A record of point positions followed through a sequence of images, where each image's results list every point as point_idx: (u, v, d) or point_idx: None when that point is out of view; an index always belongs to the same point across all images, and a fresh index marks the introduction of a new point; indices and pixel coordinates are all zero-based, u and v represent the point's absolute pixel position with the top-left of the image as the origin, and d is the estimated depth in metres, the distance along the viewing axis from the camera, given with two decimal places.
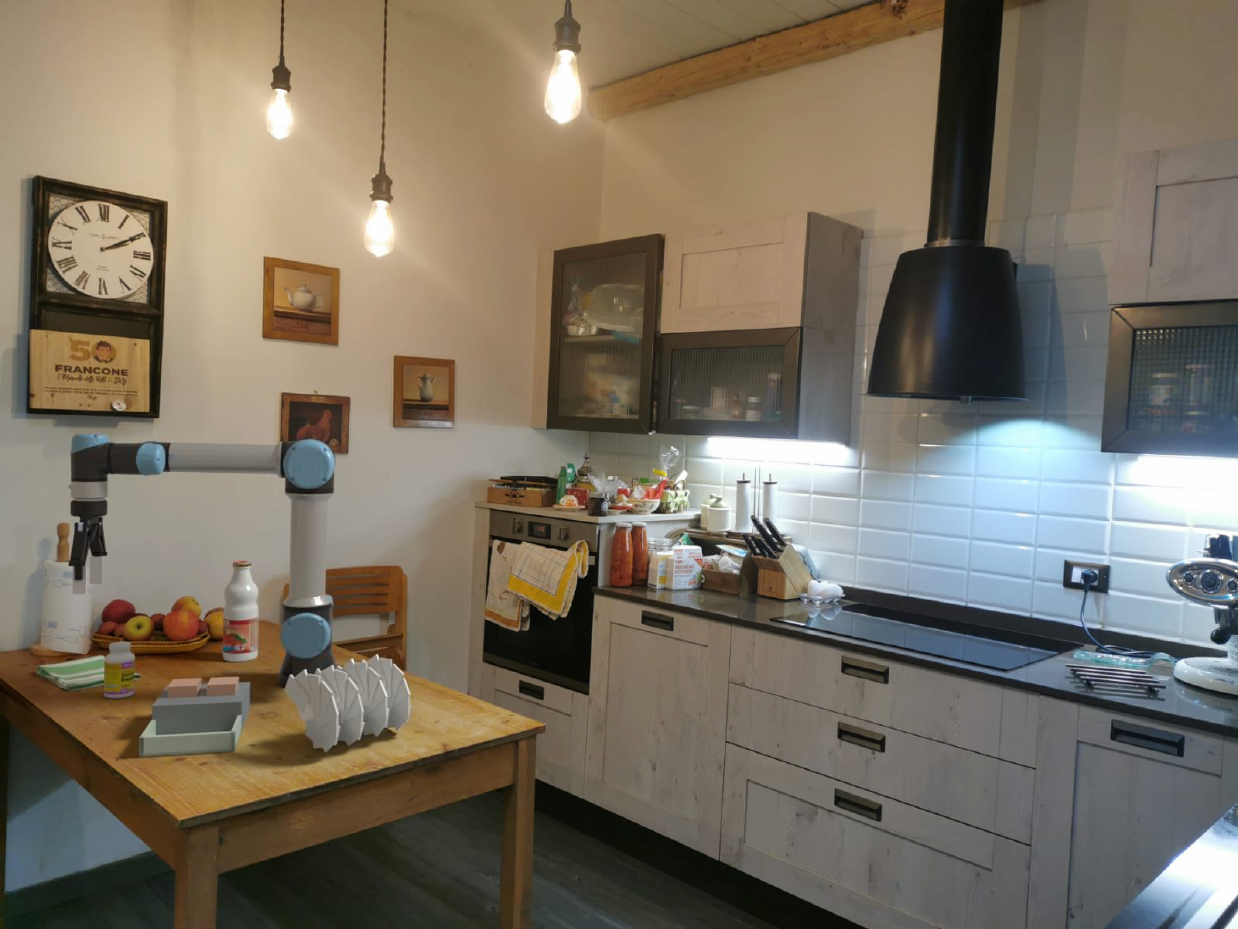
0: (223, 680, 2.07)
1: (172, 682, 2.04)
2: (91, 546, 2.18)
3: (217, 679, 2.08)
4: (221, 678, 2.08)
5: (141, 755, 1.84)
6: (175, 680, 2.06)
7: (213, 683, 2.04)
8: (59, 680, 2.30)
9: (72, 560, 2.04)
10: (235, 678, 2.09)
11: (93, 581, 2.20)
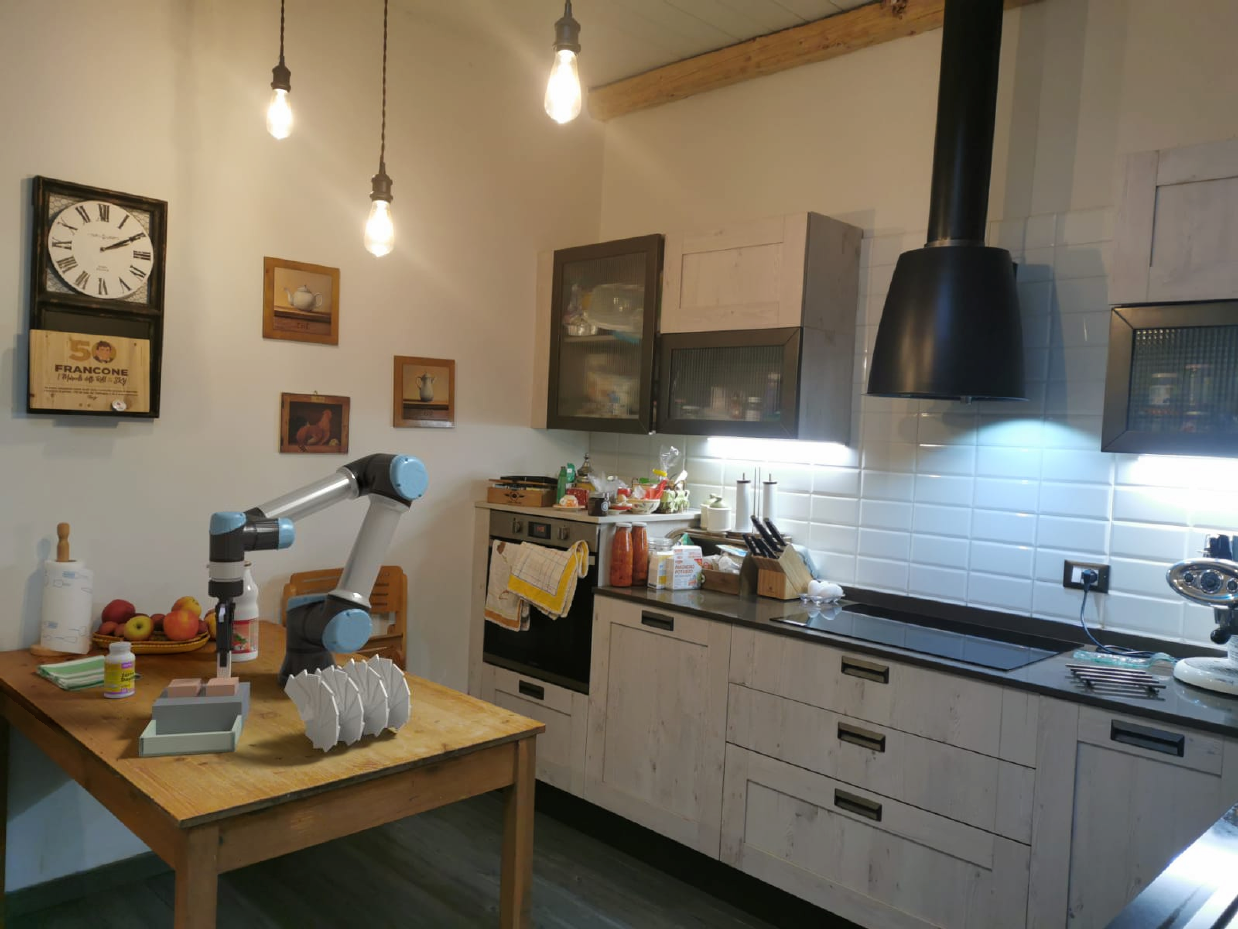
0: (223, 680, 2.07)
1: (172, 682, 2.04)
2: None
3: (216, 679, 2.07)
4: (221, 678, 2.08)
5: (141, 755, 1.84)
6: (175, 680, 2.06)
7: (213, 683, 2.04)
8: (59, 680, 2.30)
9: (218, 650, 2.06)
10: (235, 678, 2.08)
11: (221, 677, 2.09)
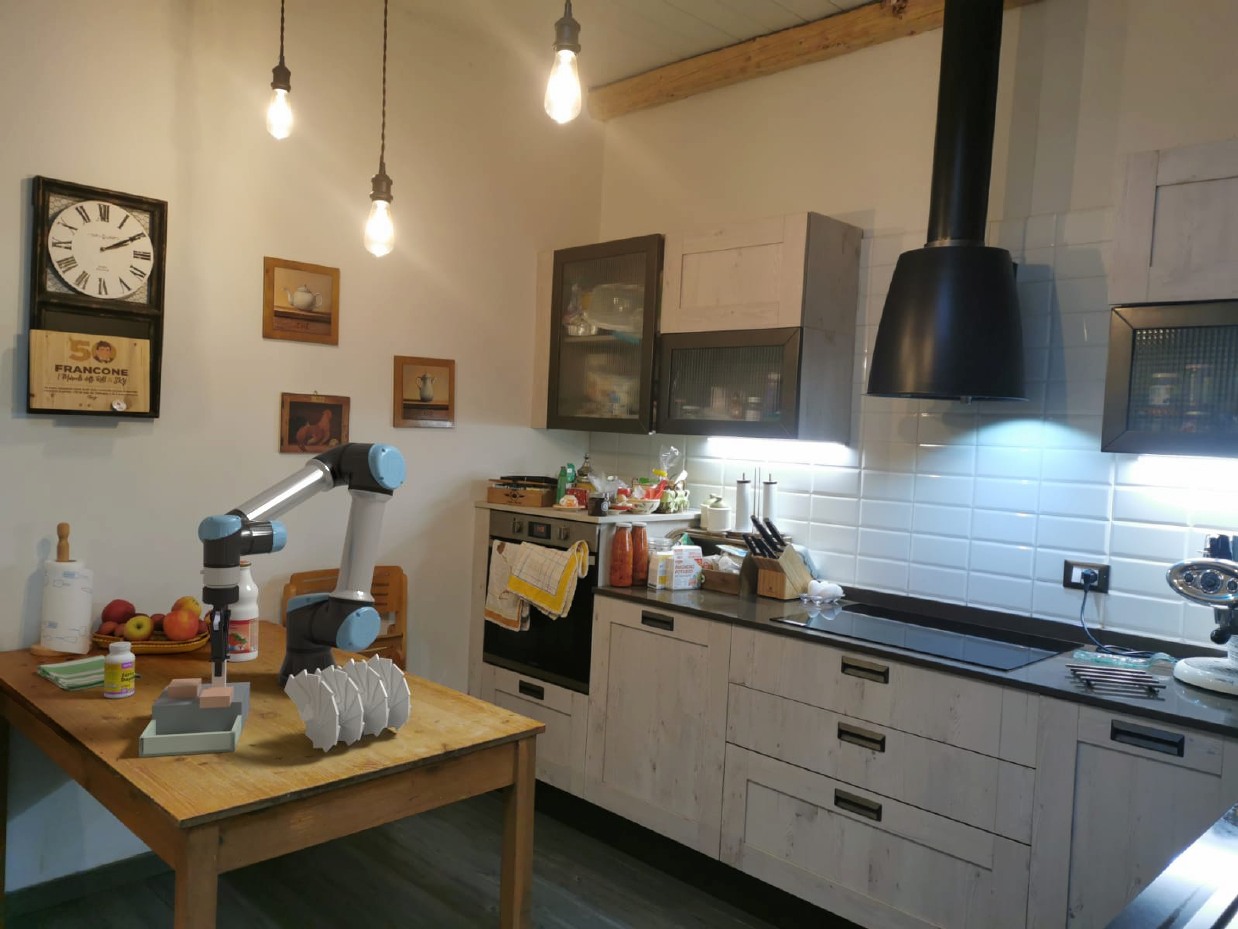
0: (217, 690, 1.99)
1: (172, 682, 2.04)
2: None
3: (210, 689, 1.99)
4: (215, 688, 2.00)
5: (141, 755, 1.84)
6: (175, 680, 2.06)
7: (207, 694, 1.96)
8: (59, 680, 2.30)
9: (213, 659, 1.98)
10: (230, 688, 2.01)
11: None
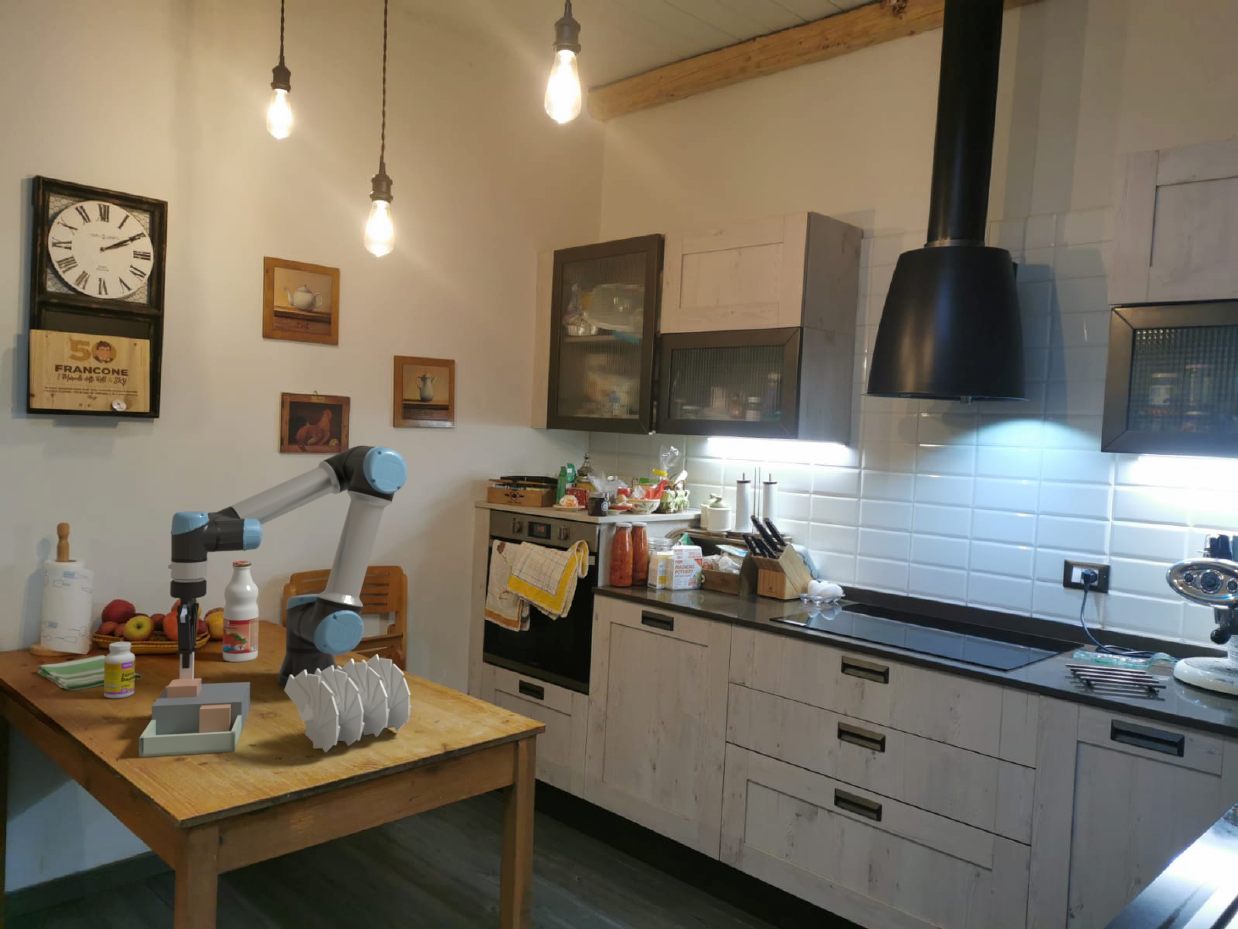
0: (214, 718, 1.96)
1: (172, 682, 2.04)
2: None
3: (207, 715, 1.96)
4: (211, 713, 1.96)
5: (141, 755, 1.84)
6: (175, 680, 2.05)
7: (205, 730, 1.96)
8: (59, 680, 2.31)
9: (180, 651, 2.04)
10: (226, 714, 1.97)
11: (184, 678, 2.08)
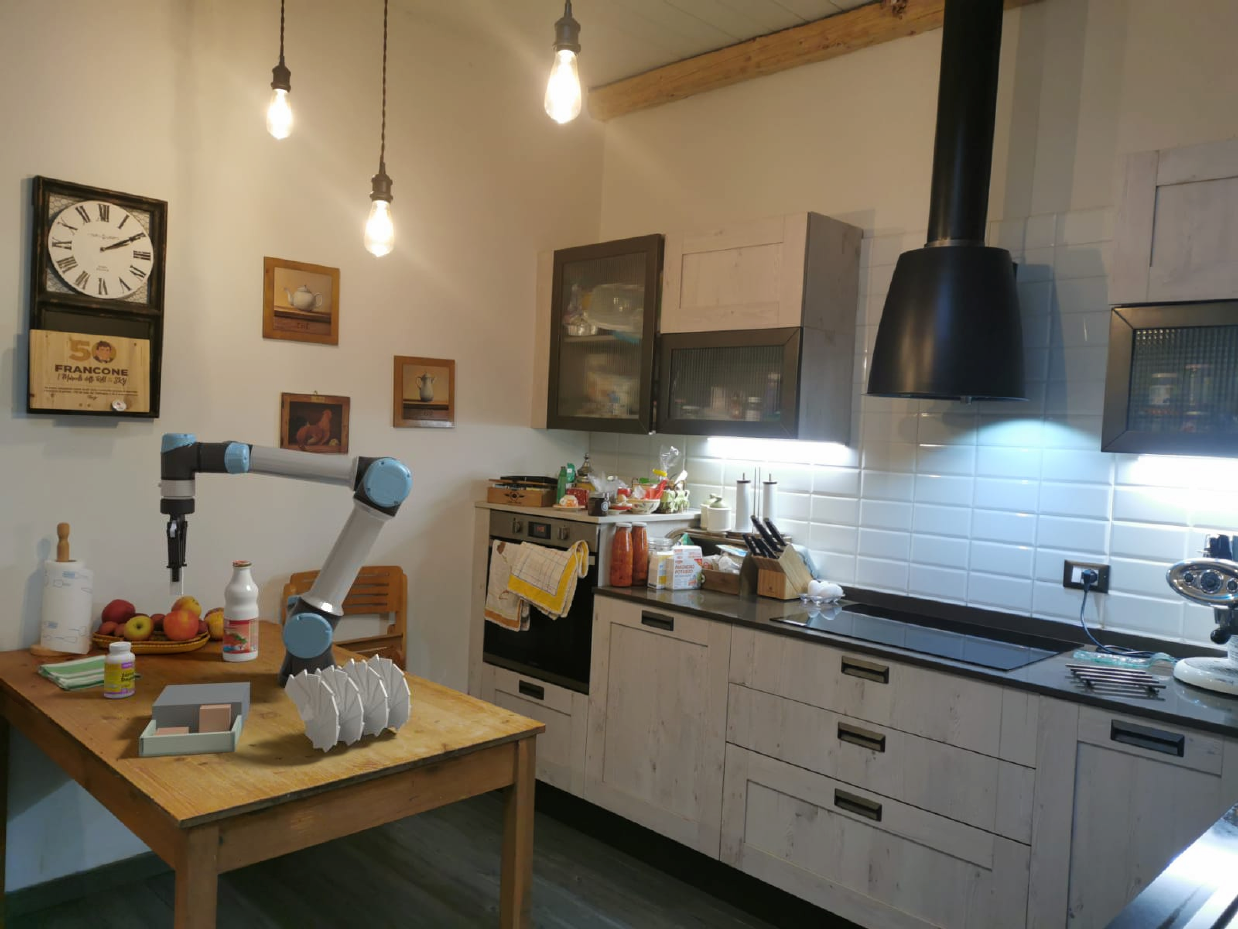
0: (214, 718, 1.96)
1: None
2: None
3: (207, 715, 1.96)
4: (211, 713, 1.96)
5: (141, 755, 1.84)
6: None
7: (205, 730, 1.96)
8: (59, 680, 2.31)
9: (170, 564, 2.14)
10: (226, 714, 1.97)
11: None
